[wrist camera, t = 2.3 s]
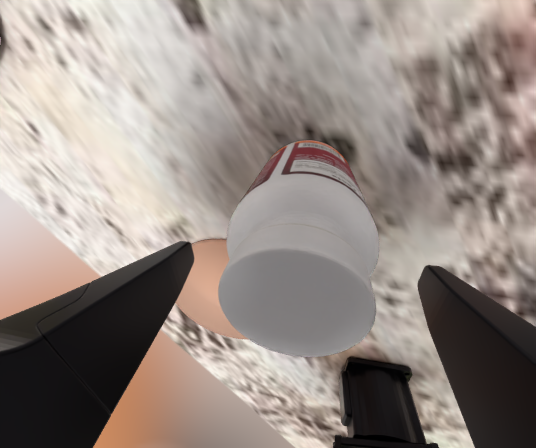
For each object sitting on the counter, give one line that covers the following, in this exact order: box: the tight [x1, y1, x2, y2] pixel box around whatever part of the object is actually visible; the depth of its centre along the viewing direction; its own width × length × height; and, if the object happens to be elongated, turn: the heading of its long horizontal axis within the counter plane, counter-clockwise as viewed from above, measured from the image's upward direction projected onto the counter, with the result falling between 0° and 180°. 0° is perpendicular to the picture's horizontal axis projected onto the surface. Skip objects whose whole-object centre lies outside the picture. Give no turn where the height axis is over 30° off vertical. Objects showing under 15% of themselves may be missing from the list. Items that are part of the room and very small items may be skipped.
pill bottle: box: [218, 140, 379, 357], centre depth 11 cm, size 6×6×11 cm
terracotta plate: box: [175, 239, 248, 339], centre depth 23 cm, size 13×13×1 cm
